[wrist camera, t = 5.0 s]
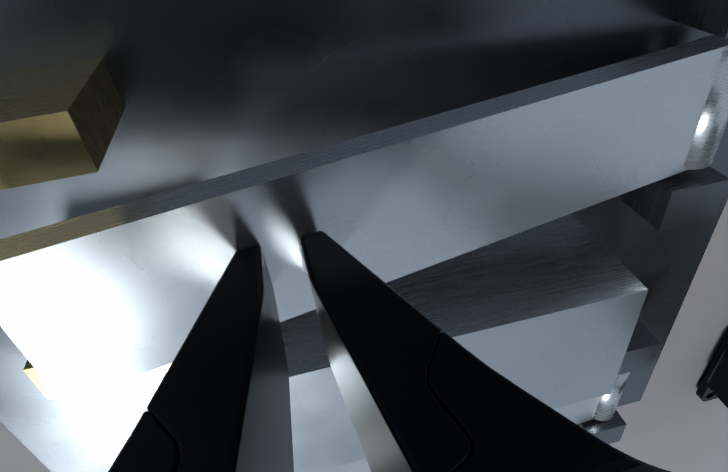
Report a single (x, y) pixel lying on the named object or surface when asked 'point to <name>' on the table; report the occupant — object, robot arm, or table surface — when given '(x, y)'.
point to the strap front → (354, 209)
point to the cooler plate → (329, 126)
